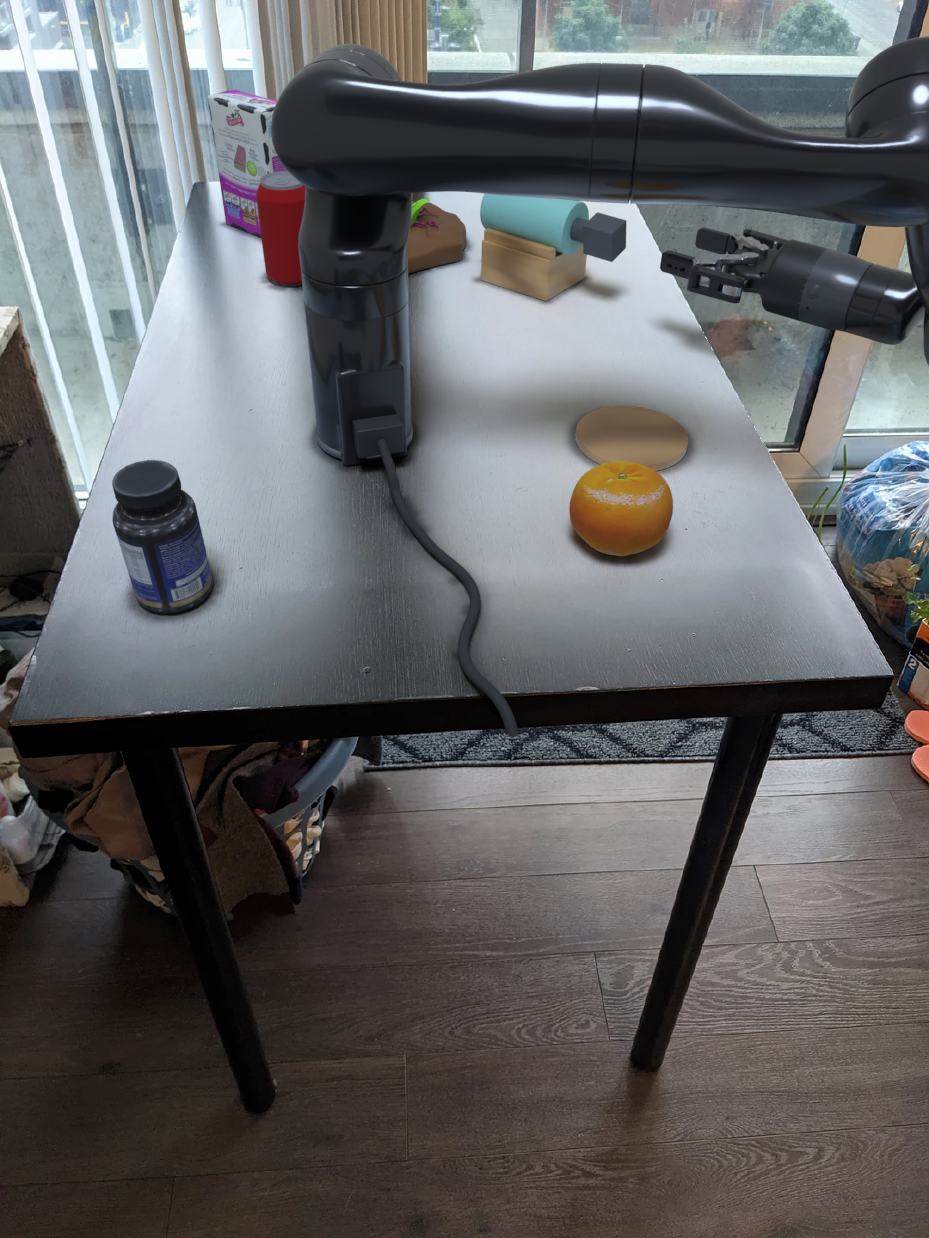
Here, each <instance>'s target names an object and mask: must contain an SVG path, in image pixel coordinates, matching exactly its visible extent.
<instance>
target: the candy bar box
mask: <svg viewBox="0 0 929 1238" xmlns="http://www.w3.org/2000/svg"><path fill="white" fill-rule="evenodd" d="M206 98H207V104H208V111H209V116H210V125H211V130H212V136H213V143H214V151H215V158H216V164H217V165H216V166H217V171H218V177H219V185H220V192H221V199H222V206H223V212H224V219H225V223H226V224H227V225H229V226H231V227H234V228H236V229H238V230H241V231H244V232H247V233H248V234H251V235H254V236H257V237H260V238H261V232H260V224H259V216H258V207H257V199H256V192H257V190H258V187H259V184H260V178H261V177H262V176H263V175H265V174H268V173H272V172H279V171H287V170H286V168H285V167H284V166H283V164H282V163H281V162H280V160H279V158H278V156H277V154H276V152H275V149H274V146H273V143H272V138H271V120H272V115H273V111H274V108H275V105H276V103H277V100H274V99H271V98H266V97H263V96H260V95H257V94H256V95H255V94H251V93H249V92H245V91H241V90H238V89H231V90H225V91H222V92H218V93H214V94H209V95H207V96H206Z"/></svg>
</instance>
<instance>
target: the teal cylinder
mask: <svg viewBox="0 0 929 1238" xmlns="http://www.w3.org/2000/svg"><path fill="white" fill-rule="evenodd" d="M479 217H480V218H479V219H480V222H481V225H482V228H484V230H486V229H488V228H491V229H494V230H497V231H501V232H504V233H507V234H511V235H514V236H517V237H521V238H524V239H527V240H530V241H534V242H537V243H540V244H544V245H547V246H550V247H554V248H556V251H557V252H560V253H564V254H567V255H571V254H573V253H575V252H576V251H577V250H578V249H579V247H580V246H581V244H582V243H583V253H584V254H587V256H591V257H593V258H597V259H599V260H603V261H607V262H609V263H613V262H614V261H615V260H616V259H617V258H618V257H619V256H620V255H621V254H622V253H623V252H624V251H625V250H626V249H627V220H626V219H623V218H619V217H616V216H612V215H609V214H606V213H602V212H596V213H595V214H593V216H591V217H590V212H589V207H588V205H587V204H586V203H585V201H576V200H566V199H555V198H535V197H518V196H505V195H493V194H484V193H483V196H482V199H481V202H480V209H479Z"/></svg>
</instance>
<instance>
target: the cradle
mask: <svg viewBox="0 0 929 1238" xmlns="http://www.w3.org/2000/svg"><path fill="white" fill-rule="evenodd" d="M480 258H481V260H480V281H483V282H486V283H489V284H492V285H495V286H498V287H500V288H504V289H507V290H510V291H513V292H516V293H519V294H522V295H524V296H529V297H531V298H534V299H538V300H540V301H543V302H548V301H549V300H550V299H553V298H554V297H556V296H558V295H559V294H560V293H562V292H563V291H566V290H567V289H569V288H570V287H572V286H574V285H575V284H577V283H578V282H581V281H582V280H583V279H585V276H586V266H587V258H588V255H587V254H584V253H583V243H582V244H581V246H580V247H579V249H578V250H577V251H576V252H575V253H573V254H571V255H567V254H564V253H560V252H557V251H556V248H554V247H550V246H547V245H544V244H540V243H537V242H534V241H530V240H527V239H524V238H521V237H517V236H514V235H511V234H507V233H504V232H501V231H497V230H494V229H491V228H488V229H484V231H483V239H482V240H481V256H480Z"/></svg>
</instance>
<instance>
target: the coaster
mask: <svg viewBox="0 0 929 1238" xmlns="http://www.w3.org/2000/svg"><path fill="white" fill-rule="evenodd" d="M574 436H575V437H574V439H575V443H576V446H577V448H578V449H579V451H580V452H581V453H582V454H583V455H584V456H585V457H587V458H588V459H589V460H591V461H592V462H595V463H596V464H598V465H601V464H604V463H607V462H612V461H628V462H634V463H639V464H642V465H645V466H647V467H649V468H651V469H653V470H655V471H656V472H658V471H662V470H665V469H668V468H671V467H673V466H674V465H677V464H678V463H679V462H680V461H682V459H683V458H684V457H685V456H686V454H687V450H688V447H689V435H688V433H687V430H686V429H685V427H684V426H683V425H682V424H680V422H679V421H677V420H676V419H675V418H673V417H671V416H670V415H668V414H667V413H664V412H661V411H659V410H656V409H653V408H648V407H644V406H638V405H629V404H628V405H627V404H624V405H623V404H622V405H619V404H618V405H609V406H604V407H599V408H597V409H595V410H592V411H590V412H587V413H586V414H584V415H583V416H582V417H581V418H580V420H579V421H578V423H577V424H576V427H575V435H574Z"/></svg>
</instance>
